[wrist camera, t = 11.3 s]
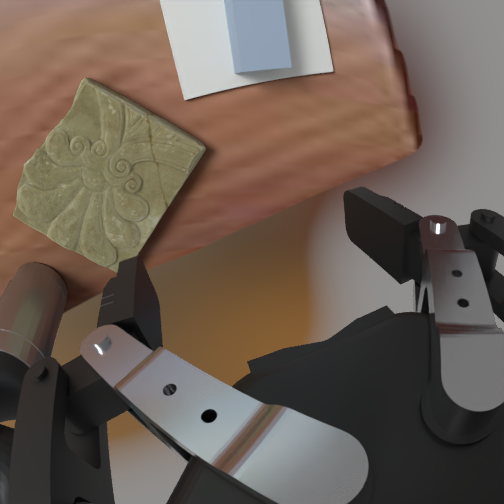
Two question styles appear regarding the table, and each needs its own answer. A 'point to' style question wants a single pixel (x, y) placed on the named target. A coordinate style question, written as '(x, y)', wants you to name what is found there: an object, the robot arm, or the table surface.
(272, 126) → the table surface
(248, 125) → the table surface
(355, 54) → the table surface
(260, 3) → the block
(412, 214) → the robot arm
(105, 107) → the decorative tile
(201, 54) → the mat
